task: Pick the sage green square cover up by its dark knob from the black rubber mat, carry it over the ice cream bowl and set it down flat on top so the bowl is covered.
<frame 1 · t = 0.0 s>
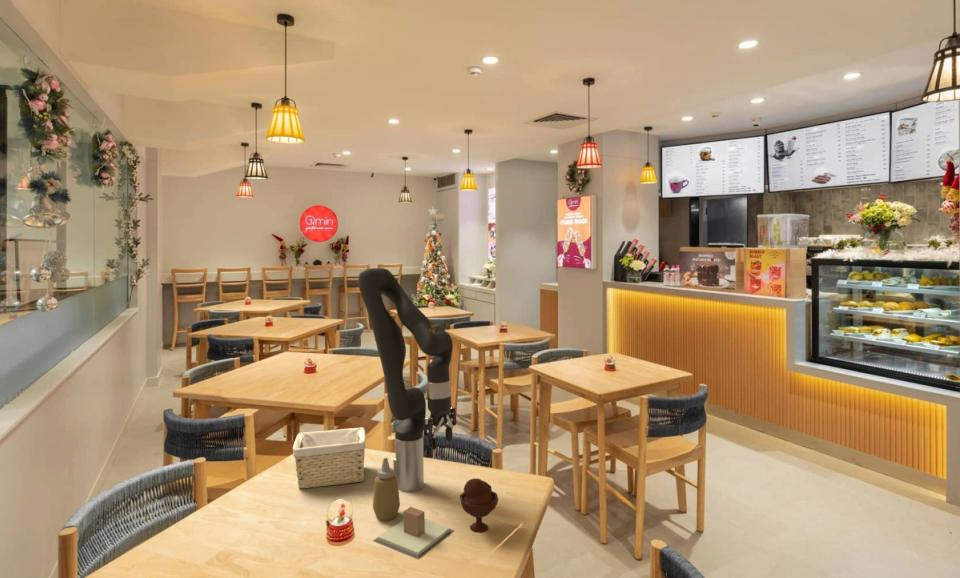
hand: (441, 444, 166), 17 cm above the table, tool pointing down, fingers open, 8 cm apart
storage basket: (331, 478, 182), on the table
cover: (414, 535, 144), resting on mat
squeeze bottle: (386, 517, 155), on the table
mat: (414, 537, 144), on the table
ice cream bowl: (479, 529, 148), on the table
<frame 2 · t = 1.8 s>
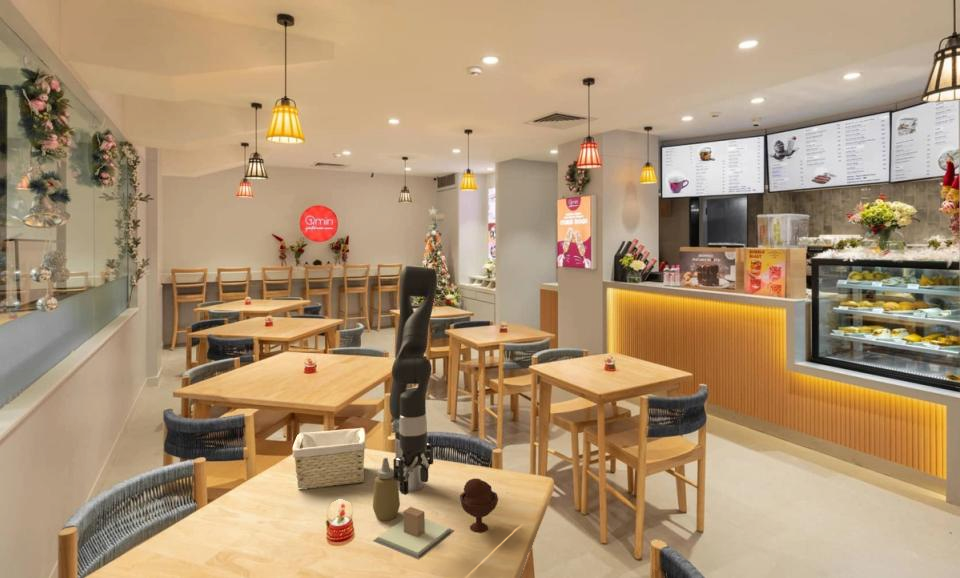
hand: (414, 487, 143), 14 cm above the table, tool pointing down, fingers open, 8 cm apart
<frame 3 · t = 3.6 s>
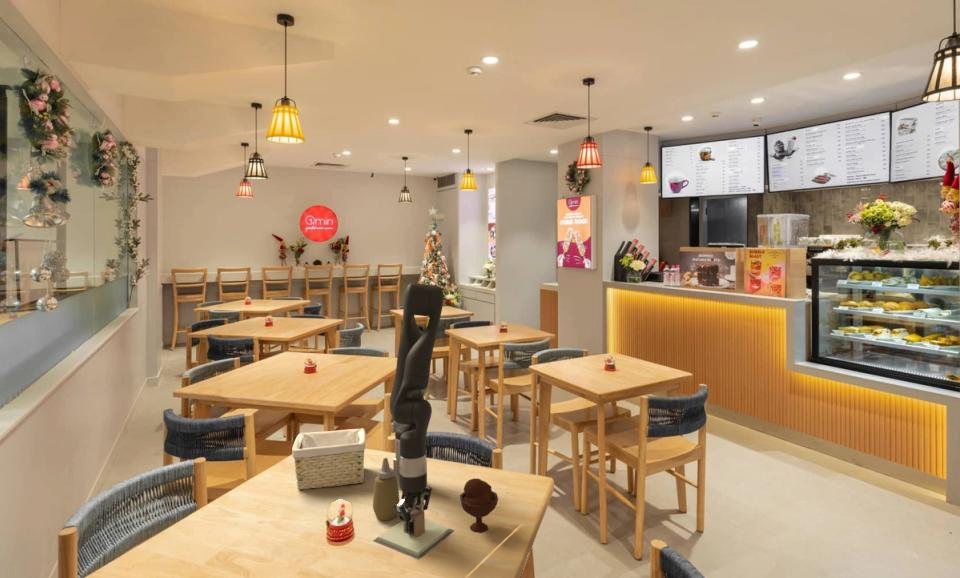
hand: (414, 530, 144), 2 cm above the table, tool pointing down, fingers closed on cover, 3 cm apart
cover: (414, 535, 144), resting on mat, touching gripper
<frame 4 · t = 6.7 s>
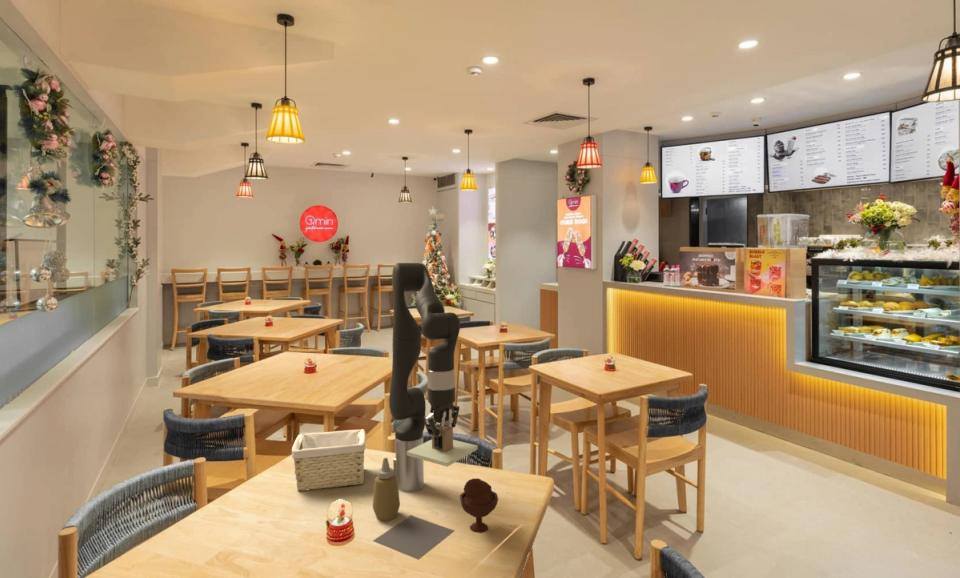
hand: (442, 446, 144), 25 cm above the table, tool pointing down, fingers closed on cover, 3 cm apart
cover: (442, 452, 144), point 24 cm above the table, touching gripper
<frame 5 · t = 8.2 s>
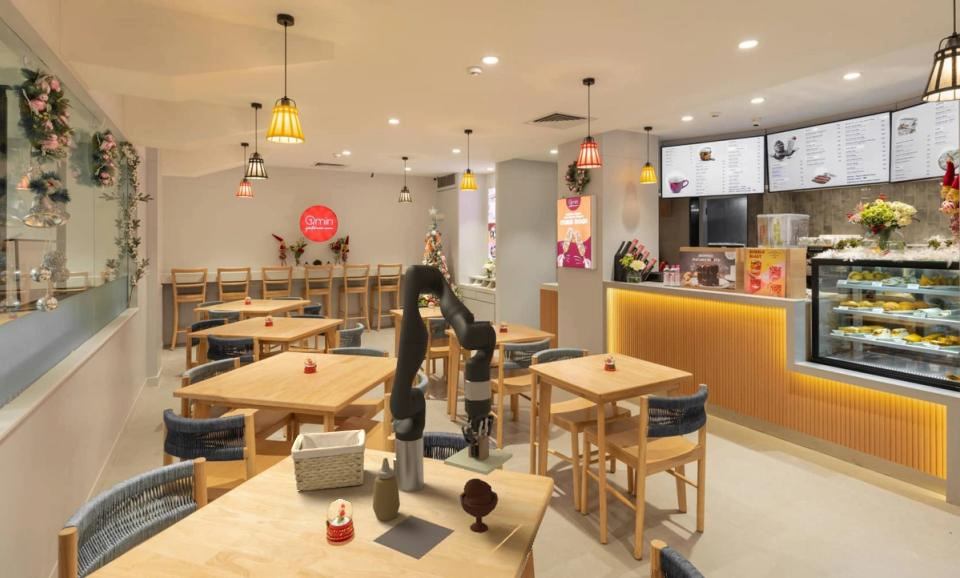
hand: (478, 454, 146), 22 cm above the table, tool pointing down, fingers closed on cover, 3 cm apart
cover: (478, 460, 146), point 20 cm above the table, touching gripper
when the fingers open (18 cm above the table, at t = 9.7 s): cover drops 1 cm, resting on ice cream bowl.
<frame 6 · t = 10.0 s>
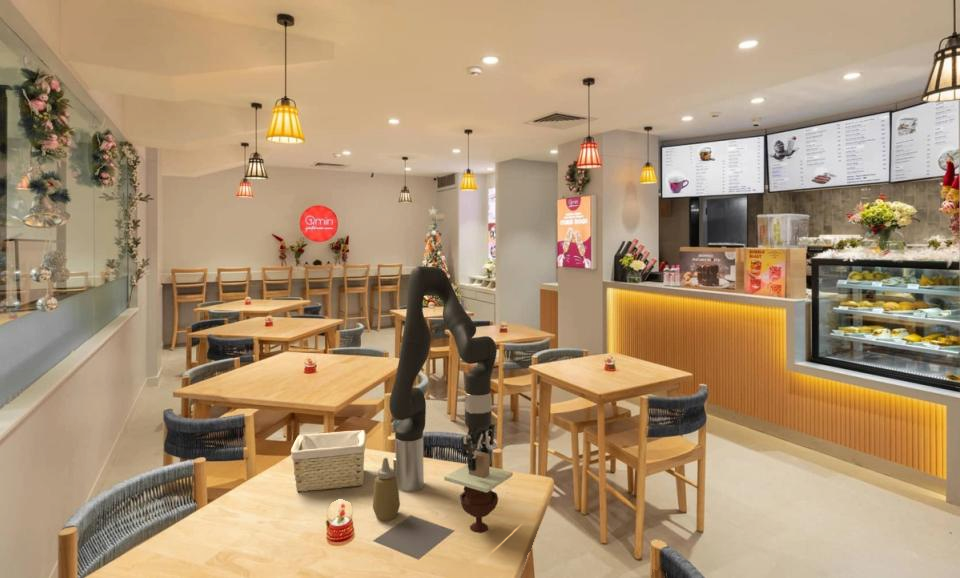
hand: (478, 465, 147), 19 cm above the table, tool pointing down, fingers open, 6 cm apart
cover: (478, 478, 147), point 15 cm above the table, touching ice cream bowl
ice cream bowl: (479, 529, 148), on the table, touching cover
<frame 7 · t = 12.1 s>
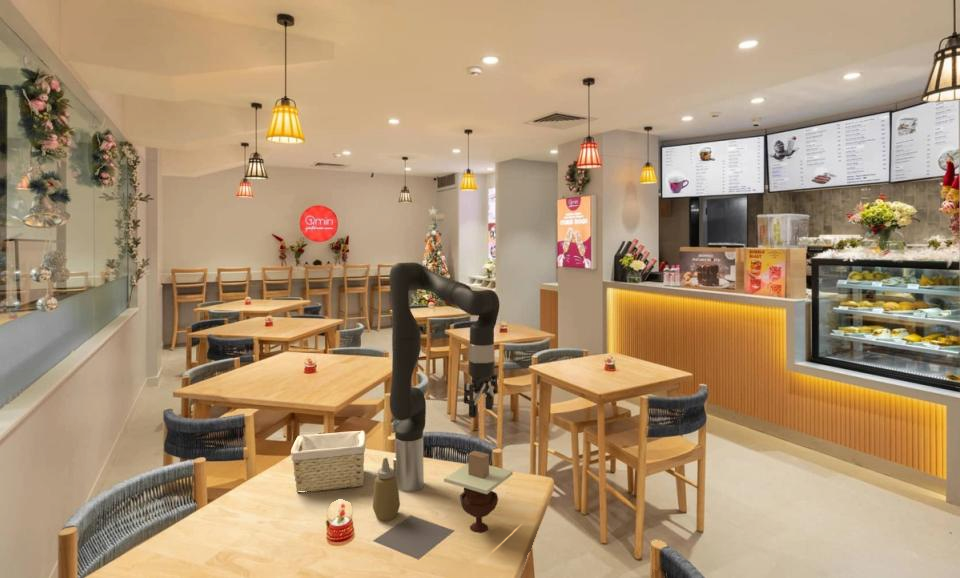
hand: (481, 413, 152), 32 cm above the table, tool pointing down, fingers open, 8 cm apart
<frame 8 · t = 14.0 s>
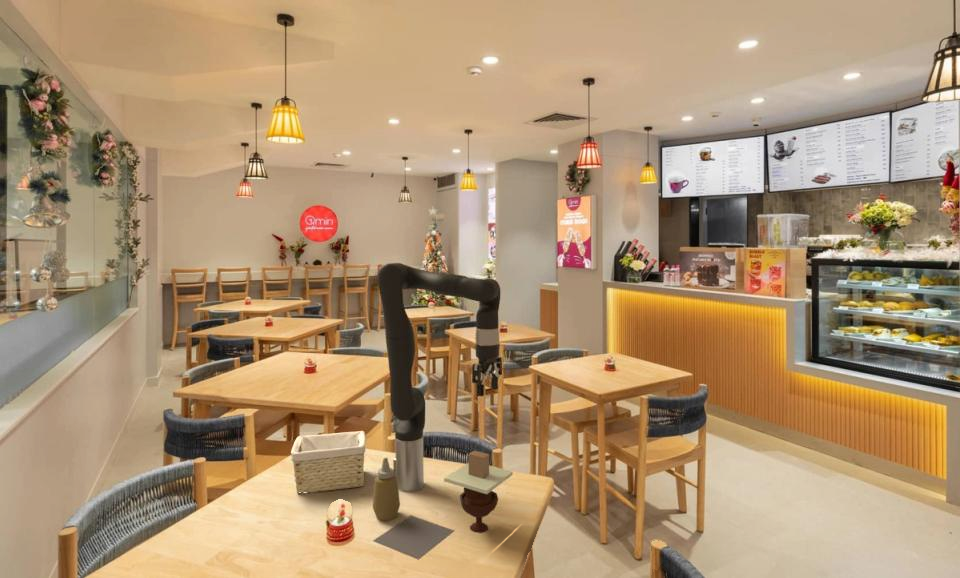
hand: (487, 392, 165), 34 cm above the table, tool pointing down, fingers open, 8 cm apart
at the end: cover 0.0 cm off-centre on the ice cream bowl, point 15.2 cm above the ice cream bowl's base; cover tilted 0°; the gripper is holding nothing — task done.
